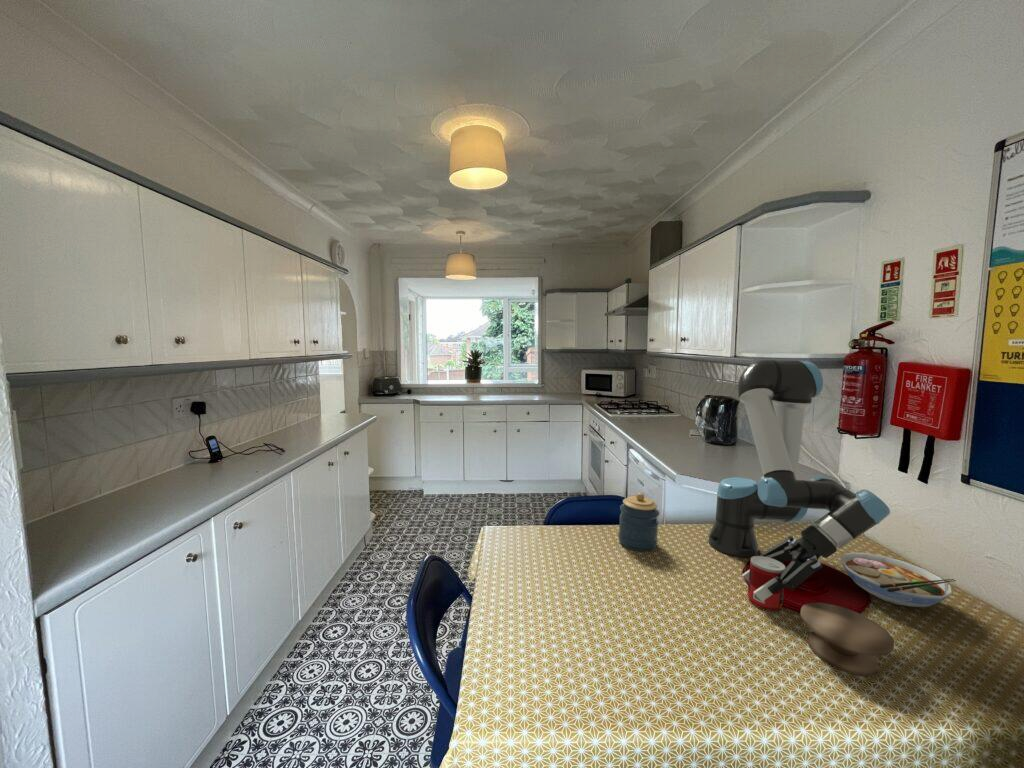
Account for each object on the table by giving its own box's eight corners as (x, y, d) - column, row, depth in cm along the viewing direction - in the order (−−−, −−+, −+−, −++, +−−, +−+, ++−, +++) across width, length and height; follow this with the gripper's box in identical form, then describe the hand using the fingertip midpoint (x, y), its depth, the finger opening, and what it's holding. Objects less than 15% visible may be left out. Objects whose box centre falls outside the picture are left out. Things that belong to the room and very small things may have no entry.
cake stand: (795, 657, 90) (798, 627, 90) (800, 621, 103) (802, 594, 102) (894, 697, 80) (898, 663, 80) (886, 651, 93) (889, 622, 92)
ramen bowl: (880, 572, 129) (883, 547, 128) (976, 619, 106) (980, 588, 106) (814, 578, 123) (817, 552, 123) (901, 629, 101) (905, 597, 100)
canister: (625, 531, 152) (628, 484, 150) (662, 542, 144) (665, 492, 143) (612, 544, 141) (615, 493, 140) (650, 556, 133) (653, 503, 132)
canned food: (787, 613, 106) (791, 572, 105) (753, 608, 107) (756, 568, 106) (774, 596, 113) (778, 557, 112) (743, 591, 115) (746, 553, 114)
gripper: (861, 568, 96) (778, 623, 100) (814, 530, 116) (747, 577, 120) (837, 543, 96) (756, 599, 101) (795, 510, 116) (729, 558, 121)
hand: (751, 587), depth 110 cm, fingers closed on canned food, 8 cm apart
